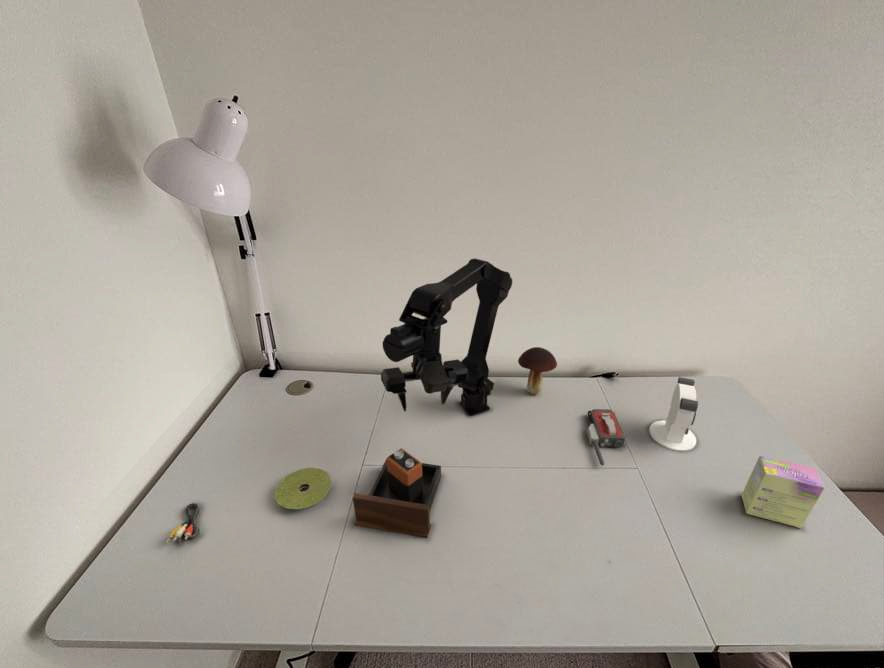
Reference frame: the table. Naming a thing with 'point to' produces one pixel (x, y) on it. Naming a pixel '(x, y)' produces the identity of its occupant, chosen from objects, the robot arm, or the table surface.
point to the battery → (405, 475)
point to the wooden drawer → (398, 505)
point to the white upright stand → (678, 419)
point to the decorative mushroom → (537, 366)
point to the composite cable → (186, 526)
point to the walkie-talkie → (604, 430)
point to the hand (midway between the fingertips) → (423, 407)
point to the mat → (303, 488)
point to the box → (782, 491)
